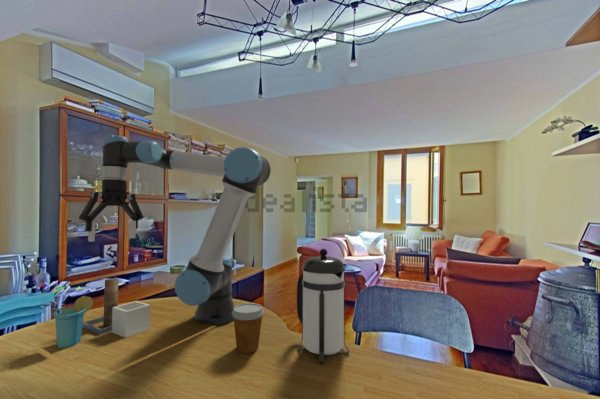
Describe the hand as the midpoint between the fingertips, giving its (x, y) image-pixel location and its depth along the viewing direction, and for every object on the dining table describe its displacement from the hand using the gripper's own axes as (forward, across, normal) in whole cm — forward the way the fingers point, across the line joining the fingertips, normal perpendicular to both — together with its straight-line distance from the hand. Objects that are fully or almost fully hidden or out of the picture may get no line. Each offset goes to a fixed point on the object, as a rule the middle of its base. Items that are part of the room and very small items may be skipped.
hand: (112, 239), depth 102 cm
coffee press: (+31, -23, +70) cm, 80 cm away
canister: (+30, -1, +11) cm, 32 cm away
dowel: (+30, 0, 0) cm, 30 cm away
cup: (+31, +15, +5) cm, 35 cm away
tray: (+30, 0, 0) cm, 31 cm away
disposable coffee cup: (+31, -13, +51) cm, 61 cm away
